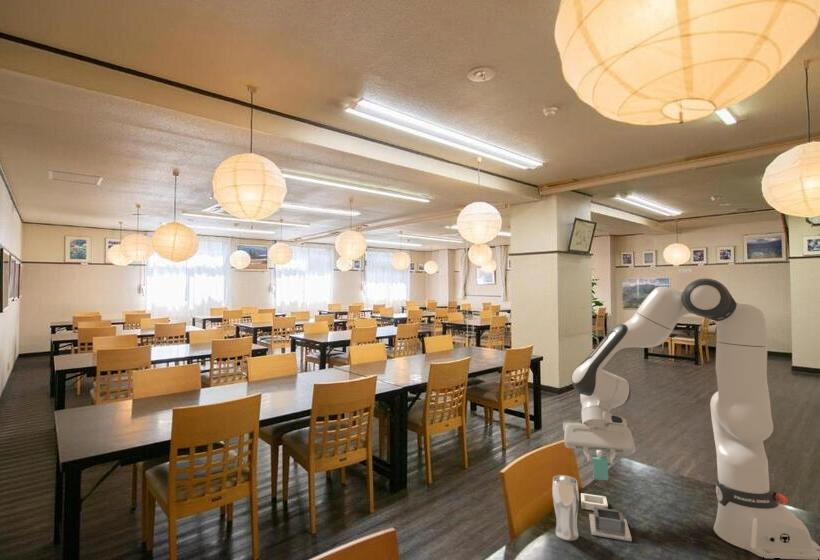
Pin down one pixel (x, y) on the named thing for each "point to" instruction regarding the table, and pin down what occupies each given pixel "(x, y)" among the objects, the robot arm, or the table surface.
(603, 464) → the teal bottle
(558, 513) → the beer glass
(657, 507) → the table surface
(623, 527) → the port
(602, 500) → the white shallow rectangular tray
